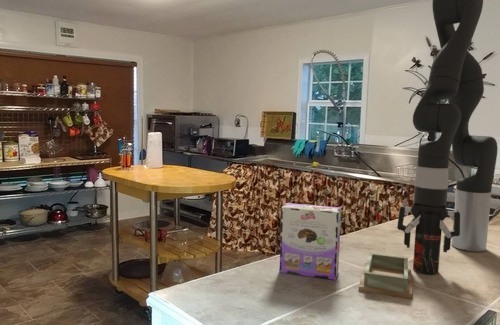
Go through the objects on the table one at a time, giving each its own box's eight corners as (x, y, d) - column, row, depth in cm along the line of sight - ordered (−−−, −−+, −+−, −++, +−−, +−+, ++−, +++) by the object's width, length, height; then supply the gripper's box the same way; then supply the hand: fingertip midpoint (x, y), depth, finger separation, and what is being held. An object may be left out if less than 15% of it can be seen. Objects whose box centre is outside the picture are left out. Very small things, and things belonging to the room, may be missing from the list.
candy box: (338, 272, 105) (342, 206, 103) (335, 281, 100) (339, 211, 98) (284, 264, 110) (286, 201, 108) (278, 272, 104) (280, 206, 102)
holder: (364, 266, 109) (365, 251, 109) (410, 273, 106) (411, 257, 105) (358, 290, 94) (359, 273, 94) (411, 299, 91) (413, 280, 90)
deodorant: (440, 275, 104) (445, 215, 103) (415, 273, 106) (419, 213, 104) (435, 267, 110) (439, 210, 108) (411, 265, 111) (415, 208, 110)
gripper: (461, 185, 106) (455, 248, 108) (400, 180, 111) (396, 241, 113) (465, 190, 99) (459, 257, 101) (400, 184, 104) (395, 249, 106)
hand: (426, 249), depth 107 cm, fingers open, 8 cm apart
